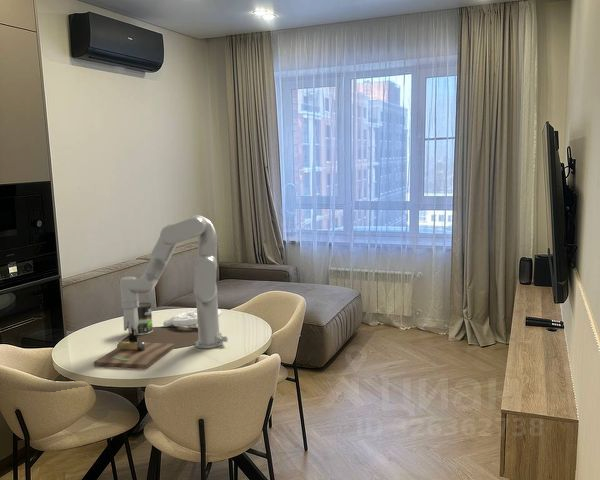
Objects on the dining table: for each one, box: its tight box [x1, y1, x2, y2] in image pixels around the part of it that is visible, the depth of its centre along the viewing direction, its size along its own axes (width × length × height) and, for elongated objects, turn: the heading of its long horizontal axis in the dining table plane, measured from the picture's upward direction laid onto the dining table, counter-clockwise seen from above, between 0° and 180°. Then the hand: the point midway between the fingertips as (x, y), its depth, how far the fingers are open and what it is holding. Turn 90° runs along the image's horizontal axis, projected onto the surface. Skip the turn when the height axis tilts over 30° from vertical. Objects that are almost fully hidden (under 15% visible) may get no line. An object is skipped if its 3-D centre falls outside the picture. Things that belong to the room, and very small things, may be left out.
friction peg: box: [117, 340, 146, 351], centre depth 235 cm, size 12×3×4 cm, turn 77°
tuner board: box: [93, 342, 176, 370], centre depth 231 cm, size 24×26×2 cm
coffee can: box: [136, 302, 154, 336], centre depth 267 cm, size 10×10×14 cm
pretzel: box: [162, 309, 222, 327], centre depth 279 cm, size 28×24×6 cm
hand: (133, 343), depth 241 cm, fingers closed
